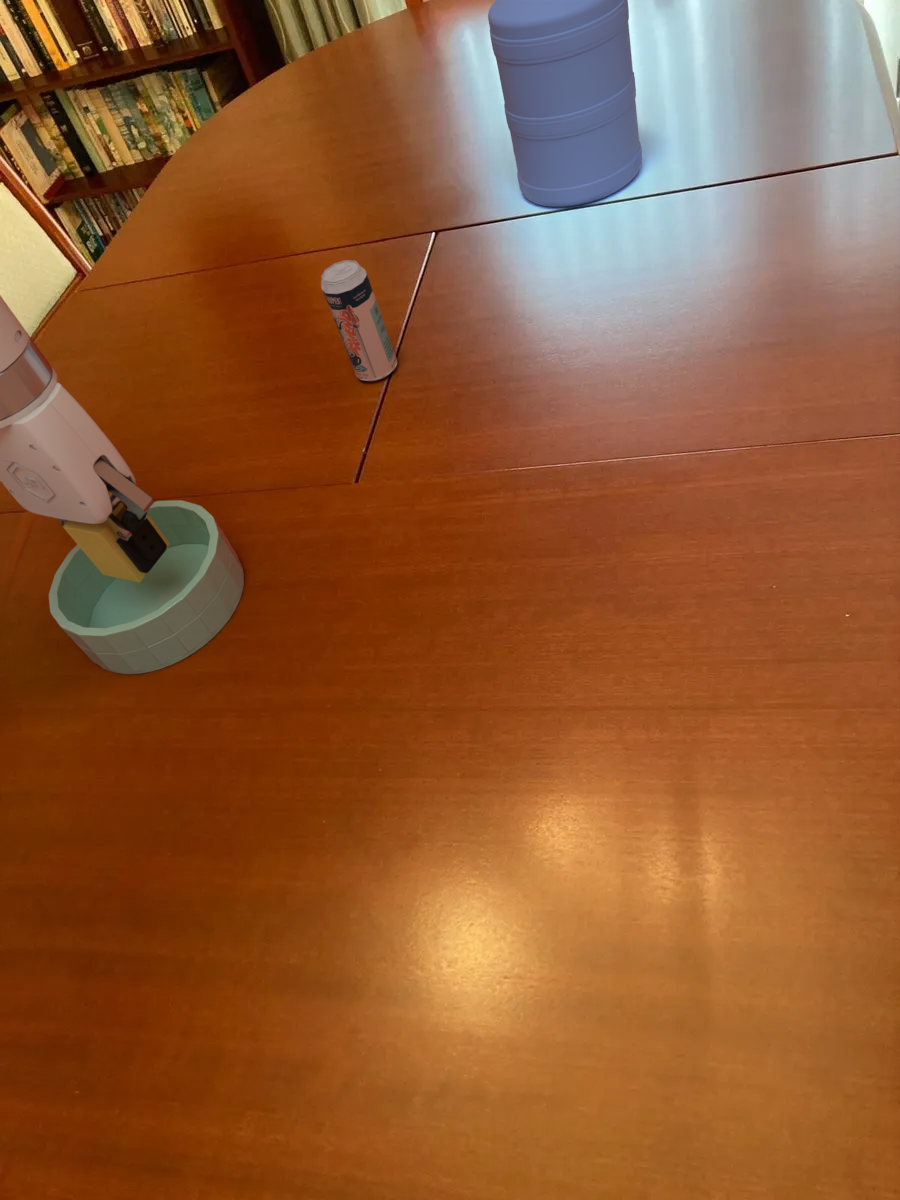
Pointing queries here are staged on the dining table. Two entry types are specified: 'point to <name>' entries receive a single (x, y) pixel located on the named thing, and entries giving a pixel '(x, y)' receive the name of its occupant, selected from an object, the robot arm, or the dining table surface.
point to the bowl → (152, 596)
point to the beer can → (358, 320)
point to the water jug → (568, 96)
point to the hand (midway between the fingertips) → (132, 554)
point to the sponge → (107, 547)
